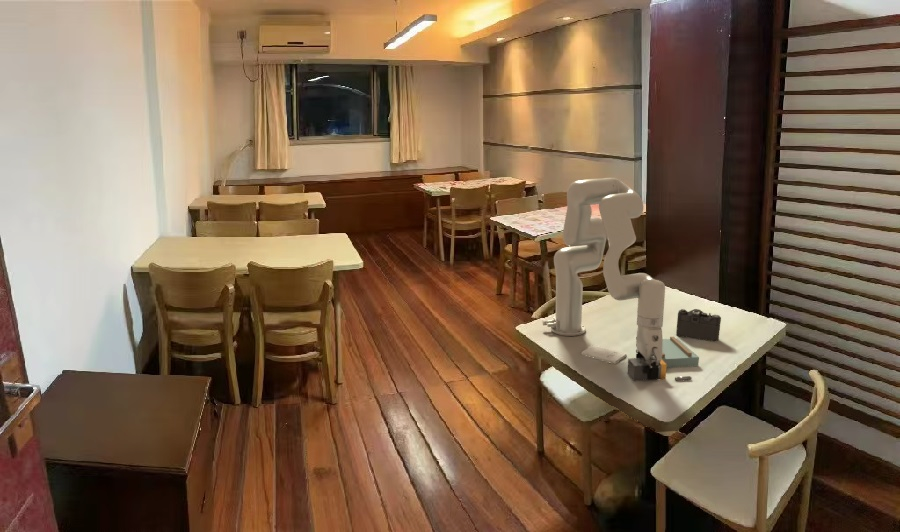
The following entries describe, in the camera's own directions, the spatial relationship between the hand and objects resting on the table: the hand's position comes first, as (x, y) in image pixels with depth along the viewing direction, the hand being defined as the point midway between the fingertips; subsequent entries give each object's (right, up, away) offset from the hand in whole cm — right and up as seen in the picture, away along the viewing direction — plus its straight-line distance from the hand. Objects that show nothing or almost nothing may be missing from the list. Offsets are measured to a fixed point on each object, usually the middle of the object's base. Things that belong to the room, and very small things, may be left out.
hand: (646, 372), depth 198 cm
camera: (+28, +8, +32) cm, 43 cm away
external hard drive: (-9, +2, +16) cm, 19 cm away
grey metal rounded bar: (+10, -2, -3) cm, 11 cm away
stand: (+11, +3, +14) cm, 18 cm away
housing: (0, -1, 0) cm, 1 cm away
